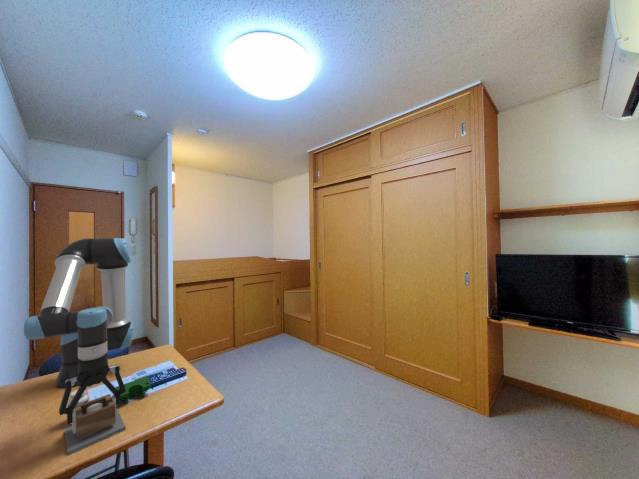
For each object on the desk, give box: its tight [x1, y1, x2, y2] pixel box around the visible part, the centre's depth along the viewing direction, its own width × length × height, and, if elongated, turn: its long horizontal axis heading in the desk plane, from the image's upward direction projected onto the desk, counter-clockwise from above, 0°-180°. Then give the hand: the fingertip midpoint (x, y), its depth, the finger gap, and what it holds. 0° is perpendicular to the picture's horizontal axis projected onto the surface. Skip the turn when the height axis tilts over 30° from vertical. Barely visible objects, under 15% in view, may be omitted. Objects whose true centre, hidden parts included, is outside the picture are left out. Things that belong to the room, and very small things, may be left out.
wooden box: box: [74, 393, 116, 439], centre depth 88 cm, size 10×10×6 cm
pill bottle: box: [67, 389, 89, 425], centre depth 94 cm, size 5×5×10 cm
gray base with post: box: [64, 403, 127, 456], centre depth 88 cm, size 14×14×8 cm
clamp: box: [114, 375, 152, 404], centre depth 107 cm, size 12×6×9 cm, turn 132°
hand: (95, 423), depth 88 cm, fingers closed on wooden box, 9 cm apart
